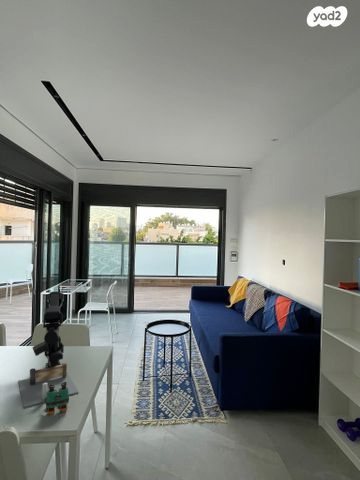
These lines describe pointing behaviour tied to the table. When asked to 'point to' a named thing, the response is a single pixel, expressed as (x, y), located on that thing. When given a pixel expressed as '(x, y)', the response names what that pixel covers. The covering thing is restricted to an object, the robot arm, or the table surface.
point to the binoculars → (57, 398)
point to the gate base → (43, 389)
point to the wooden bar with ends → (48, 373)
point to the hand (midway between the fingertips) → (52, 368)
